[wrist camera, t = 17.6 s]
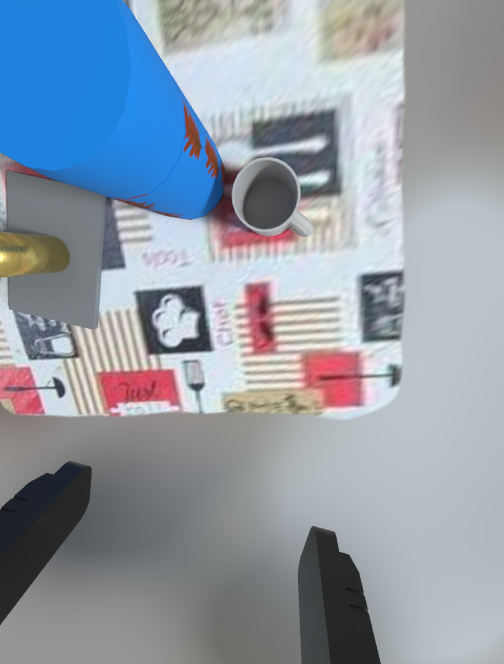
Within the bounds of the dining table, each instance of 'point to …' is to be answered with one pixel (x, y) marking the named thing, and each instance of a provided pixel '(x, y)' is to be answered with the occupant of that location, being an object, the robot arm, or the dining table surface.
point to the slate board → (78, 235)
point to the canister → (31, 254)
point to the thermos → (101, 108)
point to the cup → (269, 198)
